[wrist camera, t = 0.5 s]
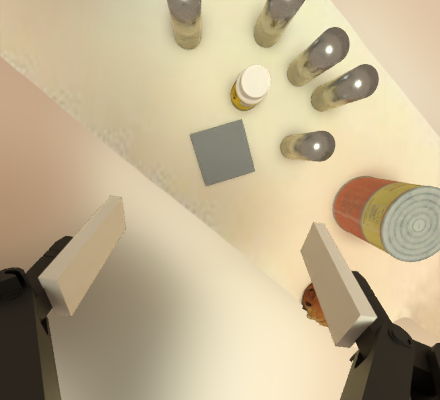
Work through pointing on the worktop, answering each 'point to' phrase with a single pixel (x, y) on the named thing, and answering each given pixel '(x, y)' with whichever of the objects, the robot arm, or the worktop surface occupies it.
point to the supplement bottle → (250, 87)
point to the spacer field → (293, 67)
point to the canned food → (391, 216)
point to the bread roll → (313, 306)
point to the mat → (223, 152)
